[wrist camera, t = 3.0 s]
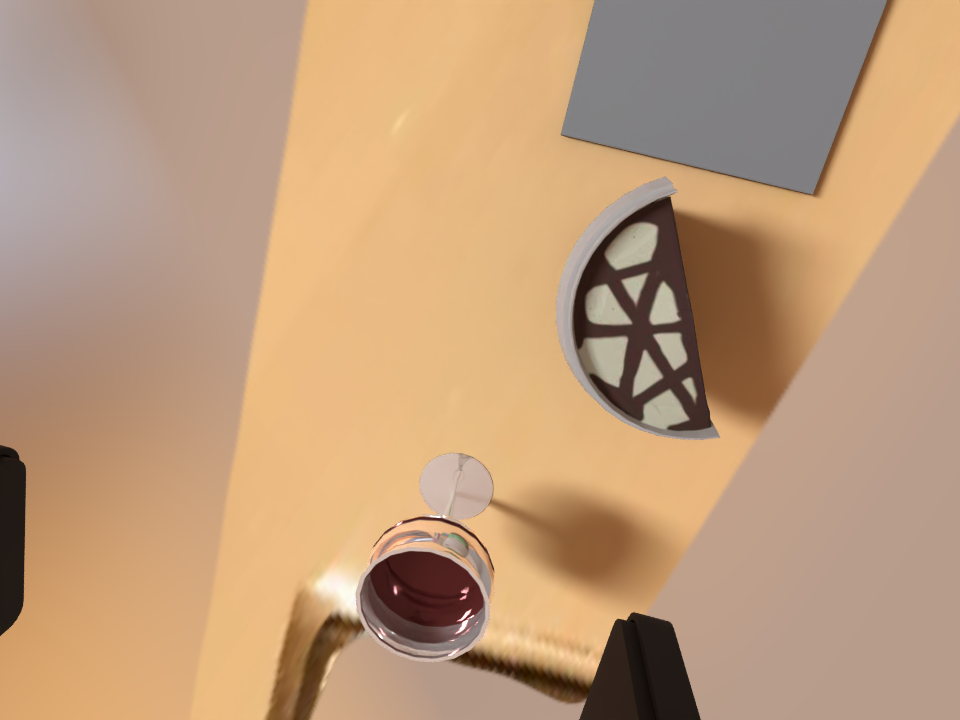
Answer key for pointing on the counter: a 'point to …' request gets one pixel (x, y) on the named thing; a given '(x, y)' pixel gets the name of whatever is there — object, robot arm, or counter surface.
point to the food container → (634, 318)
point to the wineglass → (432, 569)
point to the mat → (722, 82)
